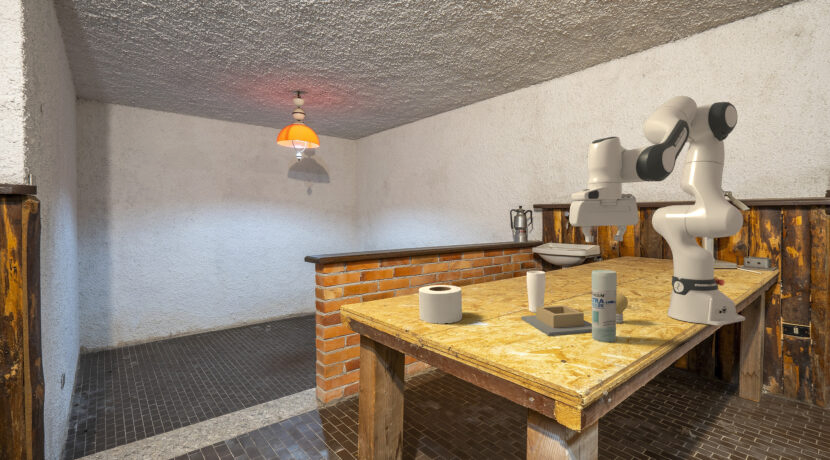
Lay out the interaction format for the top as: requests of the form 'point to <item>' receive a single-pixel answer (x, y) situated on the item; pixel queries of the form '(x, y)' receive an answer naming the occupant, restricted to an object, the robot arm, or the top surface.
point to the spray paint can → (604, 305)
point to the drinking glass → (535, 289)
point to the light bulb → (620, 306)
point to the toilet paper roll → (440, 304)
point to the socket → (558, 320)
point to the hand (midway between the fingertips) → (604, 241)
